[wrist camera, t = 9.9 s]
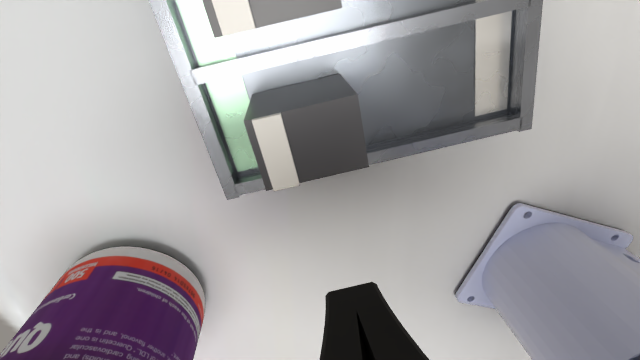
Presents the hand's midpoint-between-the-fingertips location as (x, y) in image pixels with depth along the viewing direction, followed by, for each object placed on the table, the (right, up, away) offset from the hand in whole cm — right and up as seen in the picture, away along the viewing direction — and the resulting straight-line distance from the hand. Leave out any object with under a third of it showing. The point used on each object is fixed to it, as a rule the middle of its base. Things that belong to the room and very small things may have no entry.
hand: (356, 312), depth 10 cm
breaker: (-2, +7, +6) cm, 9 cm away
